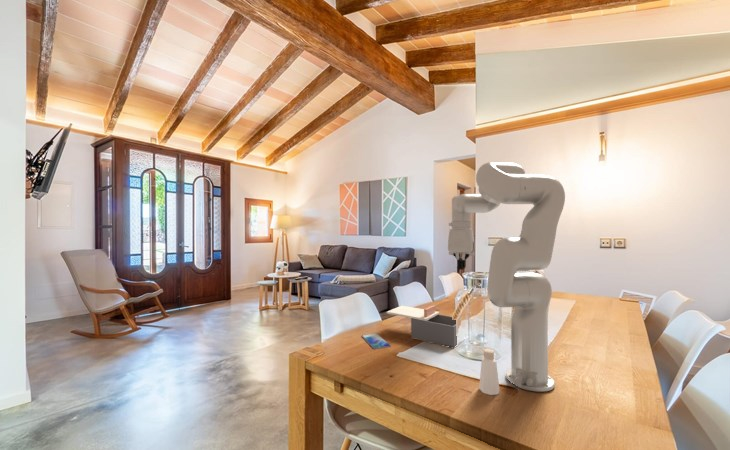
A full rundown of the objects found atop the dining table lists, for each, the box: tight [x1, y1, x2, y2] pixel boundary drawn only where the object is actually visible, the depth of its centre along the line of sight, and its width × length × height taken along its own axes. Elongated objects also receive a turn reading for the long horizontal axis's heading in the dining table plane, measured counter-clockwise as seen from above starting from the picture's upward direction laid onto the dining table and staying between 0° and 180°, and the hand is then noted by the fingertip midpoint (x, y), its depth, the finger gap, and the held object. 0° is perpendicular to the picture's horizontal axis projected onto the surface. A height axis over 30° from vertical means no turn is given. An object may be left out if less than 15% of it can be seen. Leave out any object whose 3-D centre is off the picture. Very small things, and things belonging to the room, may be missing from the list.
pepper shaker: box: [478, 348, 501, 396], centre depth 88 cm, size 5×5×11 cm
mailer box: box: [410, 313, 457, 349], centre depth 128 cm, size 12×18×8 cm, turn 53°
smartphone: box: [361, 333, 392, 350], centre depth 126 cm, size 7×1×15 cm
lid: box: [386, 304, 440, 321], centre depth 135 cm, size 12×18×4 cm
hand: (461, 269), depth 133 cm, fingers closed
